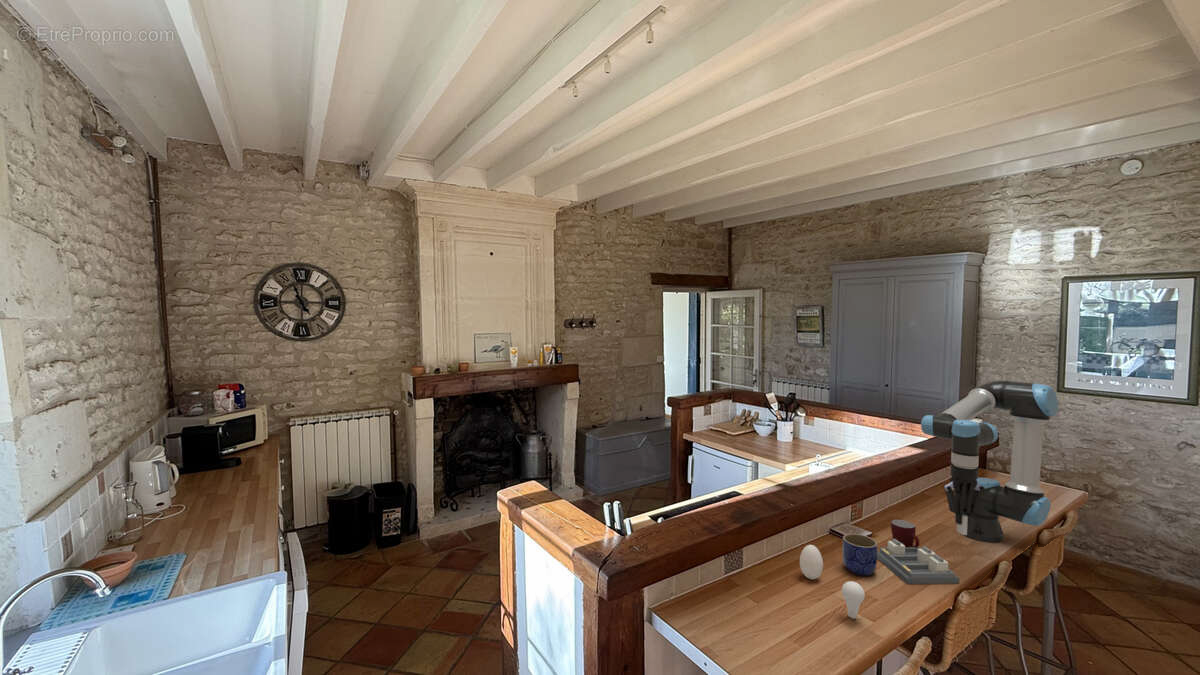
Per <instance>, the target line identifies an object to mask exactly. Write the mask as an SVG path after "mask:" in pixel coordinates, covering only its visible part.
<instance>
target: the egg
mask: <svg viewBox="0 0 1200 675" xmlns="http://www.w3.org/2000/svg"><path fill="white" fill-rule="evenodd" d="M823 561H824V560H823V556H822V554H821V552H820V550H819V549H818V547H816V545H813V544H807V545H806V546H805V547H803V549H802V551H801V552H800V556H799V567H800V570H801V572H802V574H803V575H804V576H805V577H806V578H807V579H809V580H816V579H818V578H819V577H821V575H822V572H823V570H824V569H823V568H824V562H823Z"/></svg>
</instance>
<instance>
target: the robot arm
mask: <svg viewBox="0 0 1200 675" xmlns="http://www.w3.org/2000/svg"><path fill="white" fill-rule="evenodd" d="M1057 396H1058V395H1057V393H1056V392H1055V390H1054V389H1053V387H1051V386H1050V385H1047V384H1041V383H1032V382H1022V381H1021V382H1019V381H1009V380H995V381H990V382H987V383H984V384H980V385H978V386H976V387H975V388H972V389H971V390H970V391H969V392H968V394H967V396H966V397H963V398H962V399H961V400H959V401H958V402H957V403H955V404H953V405H952V406H950V407H949V408H947V409H946V410H944V411H943V412H941V413H940V414H938V415H933V414H932V415H930V414H927V415H924V416H923V417H922V419H921V420H920V430H921V432H922V433H923V434H925V435H929V436H932V437H936V438H942V439H947V440H951V452H950V453H951V456H950V463H951V465H950V475H951V479H950V480H949V482H950V483H948V484H945V483H944V484H943V485H942V488H943V489H944V491H945V493H946V494H945V495H946V498H947V504H948V509H949V511H950V512H951V513H953V514H954V515H955V519H954V520H955V523H956V532H957V533H959V534H961V535H962V536H965V537H967V538H970V539H973V540H975V541H980V542H981V541H982V542H985V543H986V542H987V543H1001V542H1003V541H1004V531H1003V529H1002V525H1001V523H1000V520H999V516H1000V517H1003V518H1006V519H1010V520H1013V521H1016V522H1019V523H1022V524H1023V525H1024V524H1026V525H1030V526H1035V527H1038V526H1042V524H1043V523H1044V522H1045V521H1046V519H1047V518H1048V517H1049V513H1050V510H1051V500H1050V498H1049V497H1046V496H1045V490H1044V489H1042V487H1041V486H1040V478H1041V466H1042V465H1041V464H1042V455H1043V442H1044V441H1043V439H1044V429H1045V428H1044V425H1045V424H1046V423H1048V422H1050V418H1051V417H1055V416H1056V415H1057V413H1058V409H1059V402H1058V397H1057ZM992 409H995V410H996V409H997V410H1004V411H1005V410H1006V411H1009V417H1011V419H1013V423H1014V424H1013V433H1012V434H1013V435H1012V438H1013V439H1012V449H1011V463H1010V475H1009V478H1010V479H1009V481H1007V482H1005V483H1004V486H1003V485H1001V483H1000V481H999V480H997V479H994V478H989V477H979V468H978V467H979V458H980V454H979V453H980V447H983V446H988V445H991V444H992V443H994V442H996V441H997V439H998V438H999V432H998V429H997V428H996V427H995V426H994V425H993V424H991V423H988V422H978V421H974V420H973V419H974V418H976V417H977V416H979V415H980V414H981V413H984V412H989V411H991V410H992Z"/></svg>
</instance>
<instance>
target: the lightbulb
mask: <svg viewBox="0 0 1200 675" xmlns="http://www.w3.org/2000/svg"><path fill="white" fill-rule="evenodd" d="M841 593H842V596H843V599H844V600H845V603H846V609H847V615H848V617H849V618H850V619H854V620H855V619H857V618H858V613H859V610H860V606H861V604H862V602H864V600H865V597H866V596H865V595H866V594H865V589H863V587H862V585H860V584H859V583H858V582H856V581H852V580H851V581H850V580H849V581H846V582H845V583H843V585H842V586H841Z"/></svg>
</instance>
